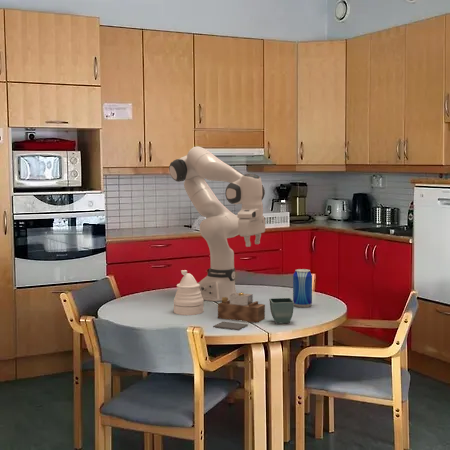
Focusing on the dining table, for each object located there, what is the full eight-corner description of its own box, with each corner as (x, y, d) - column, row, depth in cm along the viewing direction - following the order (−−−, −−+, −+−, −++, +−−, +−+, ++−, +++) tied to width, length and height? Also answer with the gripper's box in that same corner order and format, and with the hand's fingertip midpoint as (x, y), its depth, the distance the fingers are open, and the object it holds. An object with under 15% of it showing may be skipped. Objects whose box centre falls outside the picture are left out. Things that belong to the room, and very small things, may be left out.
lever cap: (229, 304, 281) (229, 293, 280) (235, 302, 285) (235, 291, 285) (247, 306, 277) (247, 295, 277) (252, 303, 282) (252, 292, 281)
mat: (213, 327, 267) (213, 325, 267) (222, 322, 274) (222, 321, 274) (238, 330, 262) (238, 328, 262) (247, 325, 270) (247, 324, 269)
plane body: (217, 318, 283) (217, 299, 282) (225, 314, 289) (225, 295, 288) (257, 322, 275) (257, 302, 274) (264, 318, 281) (264, 299, 280)
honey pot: (181, 316, 287) (180, 273, 285) (169, 310, 298) (168, 269, 296) (208, 313, 292) (208, 271, 291) (195, 307, 304) (195, 267, 302)
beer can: (311, 308, 301) (311, 272, 299) (292, 307, 302) (292, 271, 301) (312, 304, 309) (312, 268, 307) (294, 303, 311) (294, 268, 309)
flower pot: (268, 319, 279) (269, 298, 279) (290, 319, 280) (290, 297, 279) (272, 325, 271) (272, 302, 270) (294, 324, 271) (294, 302, 271)
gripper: (255, 210, 299) (255, 242, 300) (235, 214, 281) (236, 247, 282) (268, 211, 297) (269, 242, 298) (249, 214, 278) (250, 248, 279)
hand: (252, 245), depth 290 cm, fingers open, 8 cm apart
